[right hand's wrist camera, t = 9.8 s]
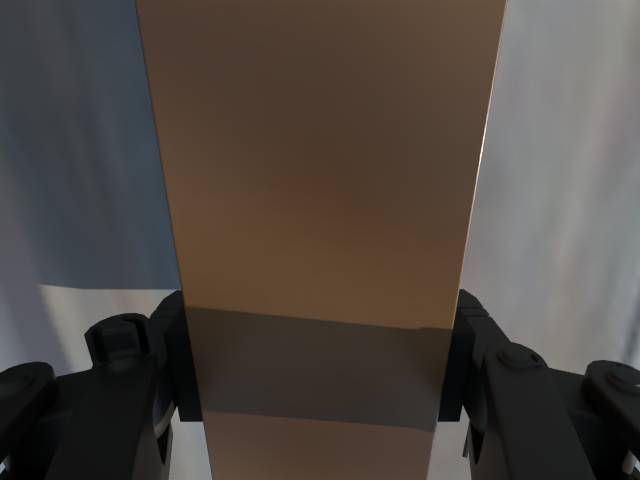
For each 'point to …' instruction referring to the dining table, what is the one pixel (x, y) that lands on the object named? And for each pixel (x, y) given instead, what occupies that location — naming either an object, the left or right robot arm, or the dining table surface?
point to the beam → (320, 218)
